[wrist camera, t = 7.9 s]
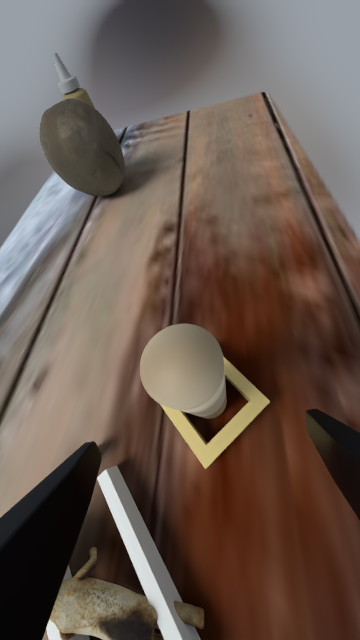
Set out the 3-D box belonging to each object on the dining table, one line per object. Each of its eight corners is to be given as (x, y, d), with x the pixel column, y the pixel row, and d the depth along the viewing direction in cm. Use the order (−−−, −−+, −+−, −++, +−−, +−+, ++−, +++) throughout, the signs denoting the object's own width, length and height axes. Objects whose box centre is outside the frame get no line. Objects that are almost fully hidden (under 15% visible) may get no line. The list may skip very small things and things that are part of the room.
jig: (347, 481, 15) (362, 488, 14) (111, 778, 12) (91, 839, 10) (208, 345, 23) (206, 339, 21) (38, 499, 19) (20, 506, 18)
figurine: (200, 571, 16) (28, 528, 17) (211, 621, 12) (-16, 562, 13) (193, 644, 14) (3, 593, 15) (203, 731, 10) (-58, 656, 11)
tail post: (234, 401, 20) (243, 363, 8) (208, 427, 19) (173, 431, 7) (209, 374, 21) (184, 310, 9) (184, 397, 21) (125, 360, 9)
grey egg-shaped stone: (124, 169, 49) (88, 79, 37) (143, 192, 42) (105, 90, 29) (74, 194, 49) (19, 111, 36) (84, 222, 42) (20, 131, 29)
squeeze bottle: (102, 161, 55) (53, 57, 39) (83, 160, 58) (30, 64, 43) (118, 145, 58) (78, 43, 42) (99, 146, 61) (55, 51, 45)
